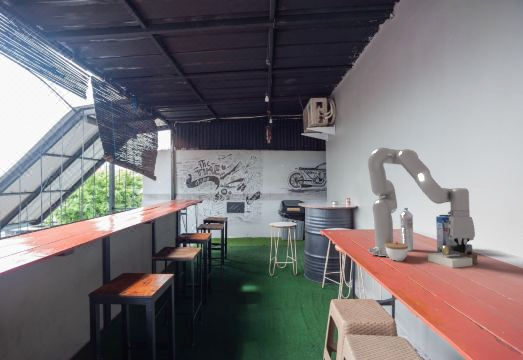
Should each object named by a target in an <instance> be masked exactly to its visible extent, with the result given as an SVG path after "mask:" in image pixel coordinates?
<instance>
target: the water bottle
mask: <svg viewBox="0 0 523 360" xmlns="http://www.w3.org/2000/svg"><path fill="white" fill-rule="evenodd" d="M413 216H414V215H413V214H412V212H411V211H409V209H408V207H404V210H403V211H401V213H400V214H399V219H400V221H399V222H400V224H399V225H400V228H399V231H400V243H401V244H406V245H408V252H413V251H414V250H415V248H414V247H415V246H414V245H415V243H414V242H415V241H414V226H413V225H414V224H413V223H414V222H413V221H414V219H413V218H414V217H413Z"/></svg>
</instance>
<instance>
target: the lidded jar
mask: <svg viewBox="0 0 523 360" xmlns="http://www.w3.org/2000/svg"><path fill="white" fill-rule="evenodd" d="M385 246H386V253H387V255H388V257H387V258H389V259H390V260H391V259H392V260H391V261H393V260H396V261H395V262H403V261H404V260H405V259H406V258H407V257H408V252H409V251H408V245H406V244H401V242H398V241H395V242H393V243H387V244H386V245H385Z"/></svg>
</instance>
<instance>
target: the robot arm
mask: <svg viewBox="0 0 523 360" xmlns="http://www.w3.org/2000/svg"><path fill="white" fill-rule="evenodd" d="M384 164H388V165H392V164H393V165H400V166H401V167H402V168H403V169H404V170H405V171H406V172H407V174H409V175H410V177H411V178H413V180H414V182H415V183H416V184H417V186H418V187H419V189H420V190H421V191H422V192H423V194H424V195H426V197H427V198H428V199H429V200H430V201H431V202H432V203H434V204H437V205H439V204H440V205H441V204H446V203H450V210H449V211H447V215H451V217H449V222H448V235H449V238H448V239H449V240H453V241H455V242H456V243H457V250H458V252H460V253H465V251H466V244H468V243H469V242H471V241H474V239H475V236H476V232H475V225H474V220H473V217H472V216H471V215H470V213H471V212H470V191H469V190H468V188H465V187H464V188H462V187H461V188H457V187H456V188H447V187H441V186H440V185H439V184H438V182H436V180H435V179H434V178H433V176H432V174H431V171H430V169H429V168H428V166H427V165H426V164H424V162H423V161H422V160H421V159H420V158H419V155H418V153H417V152H416V151H414V150H413V149H412V150H411V149H407V148H405V149H393V148H392V149H391V148H387V147H379V148H376V149H375V150H373V151H372V152H371V153H370V155H369V156H368V160H367V166H368V168H367V169H368V174H369V180H370V188H371V190H372V193H373V195H375V196H377V197H378V199H376V200H375V201H374V202H373V205H372V213H373V221H374V222H373V223H374V246H373V247H372V248H368V249H367V252H368V253H372V255H373V254H374V255H373V256H375V255H378V256H377V257H380V256H386V257H385V258H389V257H388V255H387V253H386V246H385V245H386V244H387V243H394V224H393V223H394V221H393V217H392V214H393V213H395V212H396V211H397V209H398V200H397V195H396V190H395V186H394V184H393V183H392V181H391V180H389V179H387V176H386V175H387V174H386V170H385V167H384V166H385V165H384ZM460 238H461V239H460Z"/></svg>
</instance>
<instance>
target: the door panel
mask: <svg viewBox="0 0 523 360" xmlns="http://www.w3.org/2000/svg"><path fill="white" fill-rule="evenodd" d="M427 261H428V262H431V263H435V264H438V265H441V266H445V267H448V268H452V269H455V268H464V267H472V266H473V265H472V258H470V257H466V256H462V255H459V254H455V255H443V254H442V252H431V253H427Z"/></svg>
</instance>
